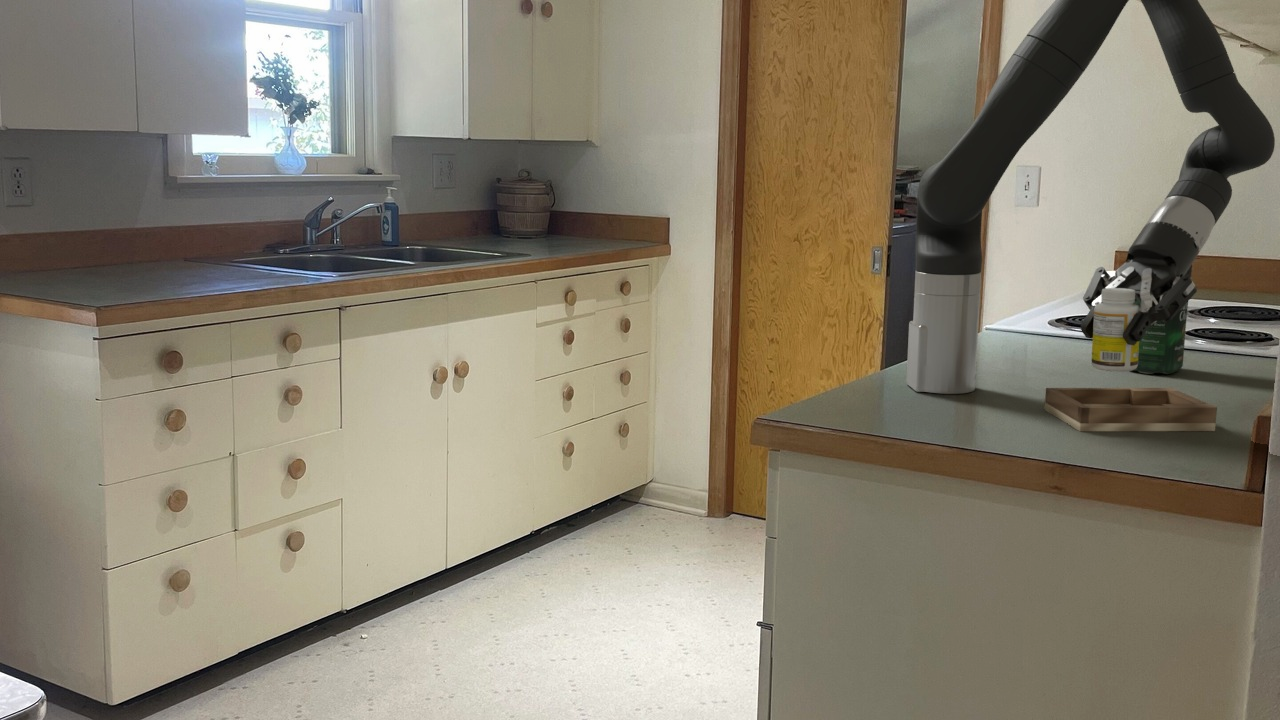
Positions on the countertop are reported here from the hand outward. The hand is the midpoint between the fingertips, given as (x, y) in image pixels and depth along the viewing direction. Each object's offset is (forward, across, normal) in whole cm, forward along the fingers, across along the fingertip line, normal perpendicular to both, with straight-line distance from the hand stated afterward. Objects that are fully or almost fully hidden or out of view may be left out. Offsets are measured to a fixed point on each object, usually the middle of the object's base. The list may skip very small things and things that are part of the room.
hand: (1106, 337), depth 144 cm
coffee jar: (-18, -19, +35) cm, 43 cm away
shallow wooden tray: (+5, +1, +10) cm, 12 cm away
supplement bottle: (+2, 0, +4) cm, 5 cm away
